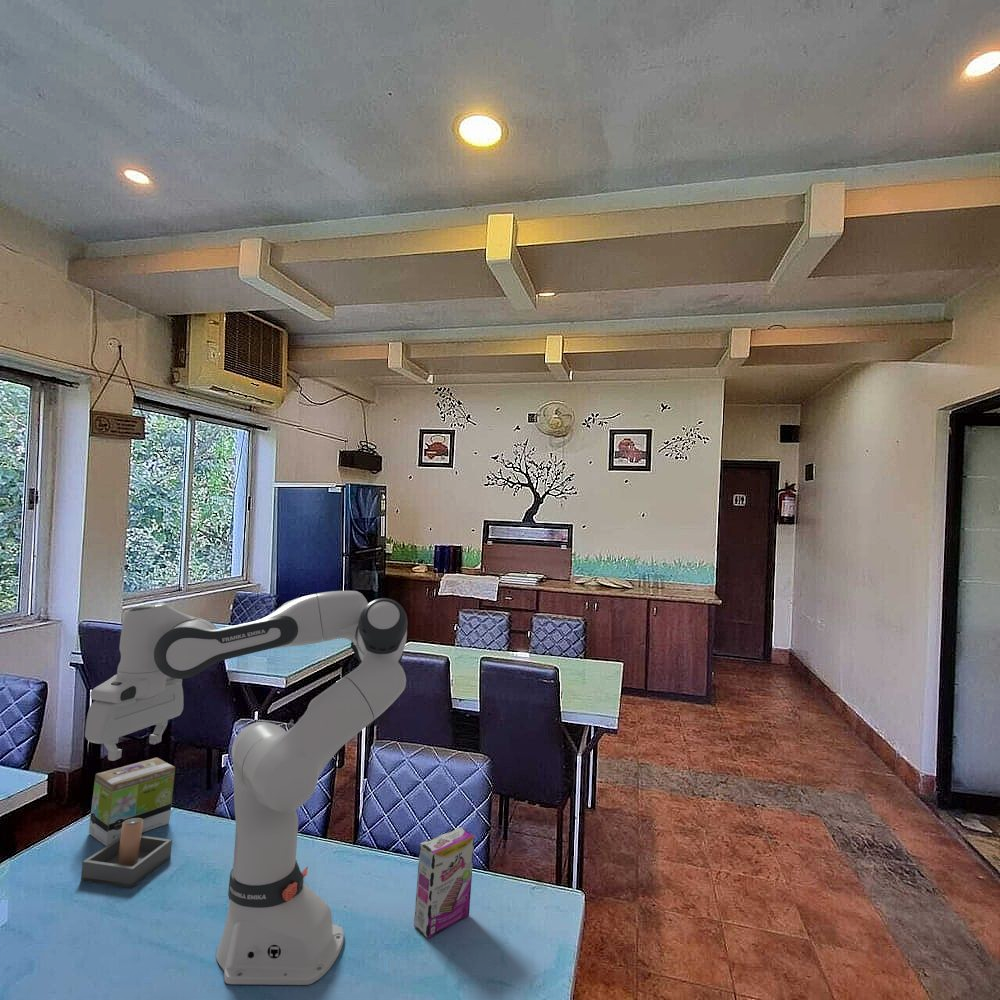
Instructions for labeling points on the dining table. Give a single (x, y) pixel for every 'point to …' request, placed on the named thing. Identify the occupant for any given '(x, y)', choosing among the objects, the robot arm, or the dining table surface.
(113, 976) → the dining table surface
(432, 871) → the candy bar box
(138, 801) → the tea box
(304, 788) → the robot arm
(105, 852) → the charcoal bin
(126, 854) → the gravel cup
